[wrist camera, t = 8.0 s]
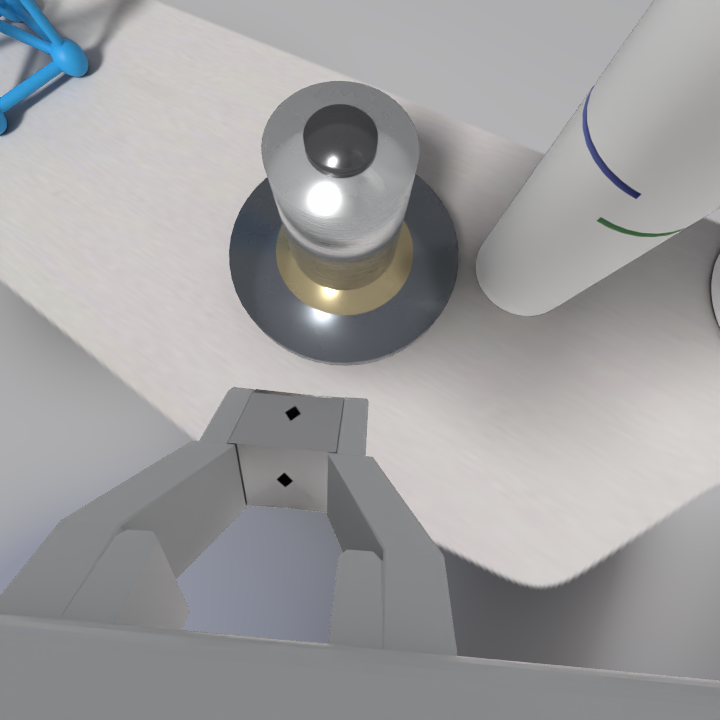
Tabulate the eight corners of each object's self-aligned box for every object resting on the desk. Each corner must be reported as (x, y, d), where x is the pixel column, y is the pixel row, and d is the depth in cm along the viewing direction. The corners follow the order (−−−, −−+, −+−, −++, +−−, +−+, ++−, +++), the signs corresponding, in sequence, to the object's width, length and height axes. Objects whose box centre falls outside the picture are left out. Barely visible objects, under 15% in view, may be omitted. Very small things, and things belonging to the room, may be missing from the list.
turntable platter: (430, 152, 27) (434, 139, 26) (474, 347, 24) (480, 343, 23) (226, 176, 26) (220, 163, 25) (246, 381, 23) (240, 378, 22)
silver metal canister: (387, 188, 25) (407, 61, 16) (404, 283, 23) (435, 199, 15) (285, 199, 24) (251, 75, 16) (296, 296, 23) (265, 218, 15)
